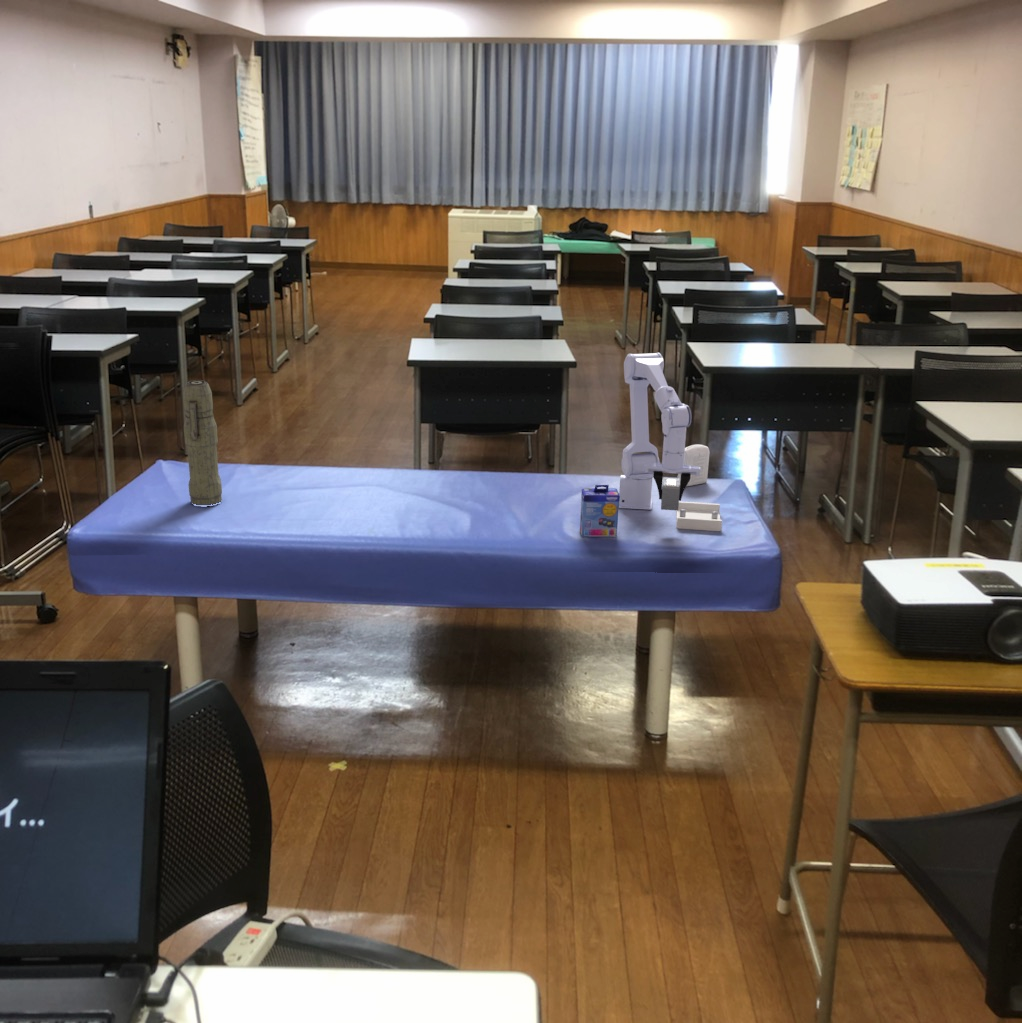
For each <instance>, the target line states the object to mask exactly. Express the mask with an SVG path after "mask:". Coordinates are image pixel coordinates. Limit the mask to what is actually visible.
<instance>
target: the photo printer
mask: <svg viewBox="0 0 1022 1023" xmlns="http://www.w3.org/2000/svg"><path fill="white" fill-rule="evenodd" d="M710 453H711V452H710V448H709V447H708V446H707V445H704V444H701V443H700V444H691V445H689V446H685V453H684V465H689V466H695V467H700V476H696V475H691V478H690V481H689V482H688V484H687V486H686V487H691V486H698V485H702V484H706V483H707V482H708V476H709V475H708V473H709V464H710V463H709V462H710ZM677 478H679V479H680V481H681V474H677Z"/></svg>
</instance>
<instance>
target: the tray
mask: <svg viewBox="0 0 1022 1023" xmlns="http://www.w3.org/2000/svg"><path fill="white" fill-rule="evenodd" d="M720 508H721V504H720V503H711V502H696V501H695V502H693V501H682V500H681V501H679V506H678V511H677V510H675V511H676V514H675V515H676V529H678V530H679V529H680V530H696V531H708V532H709V531H710V532H722V525H723V520H722V519H721V516H720V514H721V513H720Z"/></svg>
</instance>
